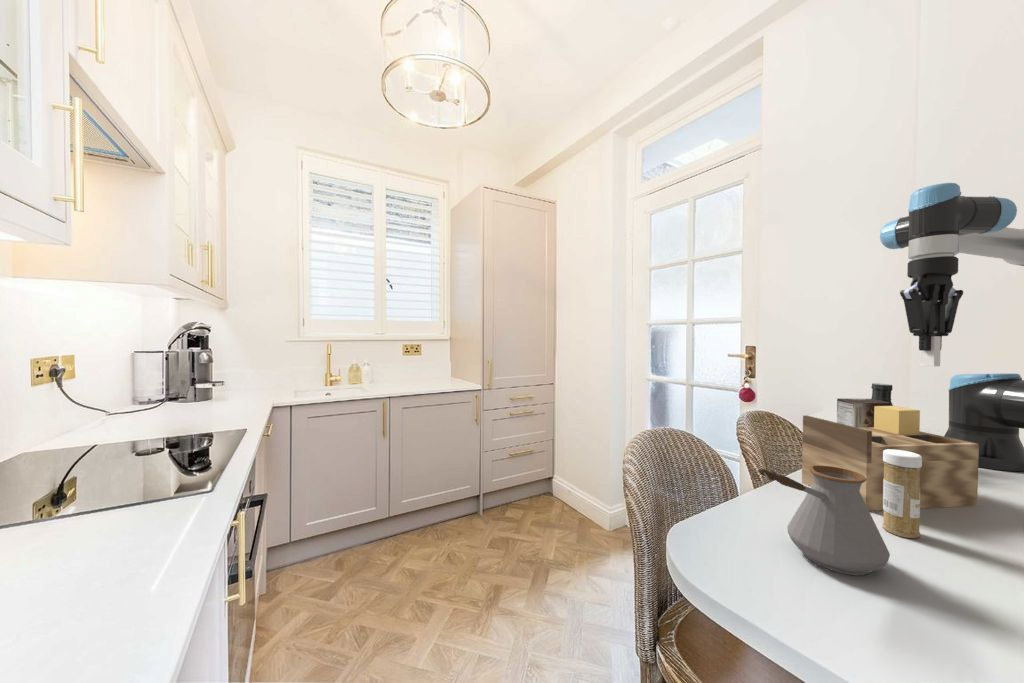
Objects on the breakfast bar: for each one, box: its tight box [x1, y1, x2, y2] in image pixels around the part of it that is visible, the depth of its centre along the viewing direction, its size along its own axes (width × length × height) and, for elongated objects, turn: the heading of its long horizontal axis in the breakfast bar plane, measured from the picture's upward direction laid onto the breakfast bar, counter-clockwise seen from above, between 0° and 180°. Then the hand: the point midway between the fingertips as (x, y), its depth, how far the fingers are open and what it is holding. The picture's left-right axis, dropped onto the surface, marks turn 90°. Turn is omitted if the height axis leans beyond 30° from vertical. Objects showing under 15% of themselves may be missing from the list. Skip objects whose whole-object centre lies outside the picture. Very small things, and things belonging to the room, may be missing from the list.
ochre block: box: [874, 405, 921, 434], centre depth 84 cm, size 5×5×5 cm
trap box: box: [801, 415, 979, 512], centre depth 80 cm, size 24×14×15 cm, turn 96°
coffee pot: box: [750, 465, 891, 576], centre depth 55 cm, size 21×12×15 cm, turn 108°
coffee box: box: [836, 398, 893, 428], centre depth 100 cm, size 9×6×16 cm
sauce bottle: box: [870, 382, 894, 406], centre depth 104 cm, size 6×6×20 cm
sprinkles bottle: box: [881, 449, 922, 539], centre depth 64 cm, size 5×5×14 cm
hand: (929, 365), depth 85 cm, fingers closed
